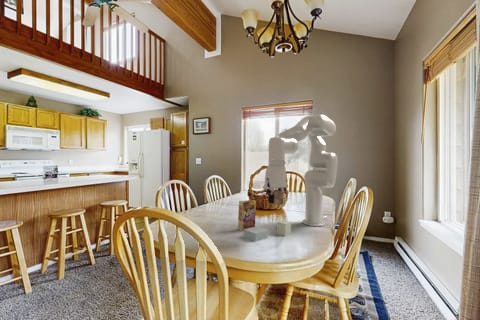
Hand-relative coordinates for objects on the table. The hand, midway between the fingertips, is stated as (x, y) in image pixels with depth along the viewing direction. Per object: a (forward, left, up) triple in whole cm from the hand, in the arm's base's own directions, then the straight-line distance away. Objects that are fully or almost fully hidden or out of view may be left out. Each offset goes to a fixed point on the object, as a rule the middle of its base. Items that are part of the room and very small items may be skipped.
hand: (275, 202), depth 109 cm
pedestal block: (+6, -7, -18) cm, 20 cm away
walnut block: (0, 0, -1) cm, 1 cm away
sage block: (-10, -5, -18) cm, 21 cm away
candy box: (+3, -20, -18) cm, 27 cm away
